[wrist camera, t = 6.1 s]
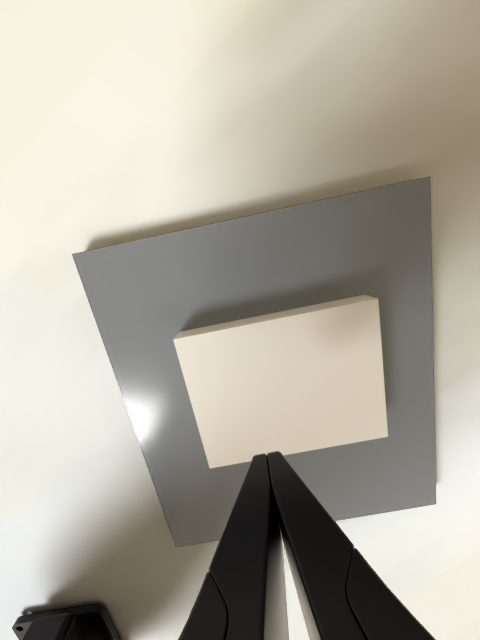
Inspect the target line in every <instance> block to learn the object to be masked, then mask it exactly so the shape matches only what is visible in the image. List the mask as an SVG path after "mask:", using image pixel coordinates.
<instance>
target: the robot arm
mask: <svg viewBox="0 0 480 640" xmlns="http://www.w3.org/2000/svg"><path fill="white" fill-rule="evenodd" d="M280 529H281V530H280ZM281 534H282V537H281ZM282 539H283V543H284V547H285V551H286V554H287V558H288V562H289V565H290V569H291V572H292V576H293V580H294V583H295V587H296V591H297V594H298V598H299V602H300V605H301V609H302V612H303V616H304V620H305V623H306V627H307V631H308V634H309V638H310V640H436V639H435V638H434V637H433V636H432V635H431V634H430V633H429V632H428V631H427V630H426V629H425V628H424V627H423V626H422V625H421V624H420V622H419V621H418V620H417V619H416V618H415V617H414V616H413V615H412V614H411V613H410V612H409V610H408V609H407V608H406V607H405V606H404V605H403V604H402V603H401V602H400V600H399V599H398V598H397V597H396V596H395V595H394V594H393V593H392V592H391V590H390V589H389V588H388V587H387V586H386V585H385V583H384V582H383V581H382V580H381V578H380V577H379V576H378V575H377V574H376V572H375V571H374V570H373V569H372V568H371V566H370V565H369V564H368V563H367V561H366V560H365V559H364V558H363V556H362V555H361V554H360V552H359V551H358V550H357V549H356V548H355V549H354V545H353V544H352V543H351V541H350V540H349V539H348V537H347V536H346V535H345V534H344V532H343V531H342V530H341V529H340V527H339V526H338V525H337V523H336V522H335V521H334V520H333V518H332V517H331V516H330V515H329V513H328V512H327V511H326V509H325V508H324V507H323V506H322V504H321V503H320V502H319V501H318V499H317V498H316V497H315V495H314V494H313V493H312V492H311V490H310V489H309V488H308V487H307V485H306V484H305V483H304V481H303V480H302V479H301V478H300V476H299V475H298V474H297V473H296V471H295V470H294V469H293V467H292V466H291V465H290V464H289V462H288V461H287V460H286V459H285V457H284V456H283V455H282V453H281V452H280V451H275V452H269V453H267V455H266V454H265V453H263V454H258V455H254V456H253V458H252V461H251V463H250V466H249V468H248V471H247V473H246V476H245V478H244V481H243V483H242V486H241V488H240V491H239V493H238V496H237V498H236V501H235V503H234V506H233V509H232V511H231V514H230V516H229V519H228V521H227V524H226V526H225V529H224V531H223V534H222V536H221V539H220V541H219V544H218V546H217V549H216V551H215V554H214V557H213V559H212V562H211V564H210V567H209V572H207V574H206V576H205V579H204V581H203V584H202V587H201V589H200V592H199V594H198V596H197V599H196V601H195V603H194V606H193V608H192V610H191V613H190V615H189V618H188V620H187V622H186V624H185V626H184V628H183V631H182V633H181V635H180V637H179V639H178V640H289V632H288V618H287V603H286V589H285V575H284V560H283V547H282ZM12 629H13V631H14V632H15V634H16V635H17V637H18V639H19V640H120V638H119V636H118V634H117V632H116V630H115V628H114V626H113V624H112V622H111V620H110V618H109V615H108V613H107V611H106V609H105V608H104V606H102V605H100V604H94V605H88V606H81V607H75V608H69V609H62V610H56V611H50V612H44V613H37V614H31V615H25V616H20V617H18V618H17V620H16V622H15V623H14V625H13V627H12Z"/></svg>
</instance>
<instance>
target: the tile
mask: <svg viewBox="0 0 480 640" xmlns="http://www.w3.org/2000/svg"><path fill="white" fill-rule="evenodd" d="M173 341H174V345H175V348H176V352H177V355H178V359H179V362H180V366H181V369H182V373H183V376H184V380H185V383H186V387H187V390H188V394H189V397H190V401H191V404H192V408H193V412H194V415H195V419H196V422H197V426H198V429H199V433H200V436H201V440H202V443H203V447H204V450H205V454H206V457H207V461H208V464H209V468H216V467H221V466H227V465H232V464H238V463H244V462H249V461H252V458H253V456H254V455H258V454H263V453H265V454H266V455H267V453H269V452H275V451H280V452H281V453H282V455H289V454H294V453H300V452H305V451H311V450H317V449H322V448H328V447H333V446H339V445H345V444H350V443H356V442H361V441H367V440H373V439H378V438H384V437H388V429H387V414H386V400H385V386H384V372H383V358H382V344H381V330H380V316H379V302H378V298H374V297H371V296H368V295H360V296H355V297H350V298H345V299H340V300H335V301H330V302H325V303H320V304H315V305H310V306H305V307H300V308H295V309H290V310H285V311H280V312H275V313H270V314H265V315H260V316H255V317H250V318H245V319H240V320H235V321H230V322H225V323H220V324H216V325H211V326H206V327H201V328H196V329H191V330H186V331H181V332H179V333H178V334H177V335H176V337H175V338H174V339H173Z"/></svg>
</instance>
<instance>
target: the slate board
mask: <svg viewBox="0 0 480 640" xmlns="http://www.w3.org/2000/svg"><path fill="white" fill-rule="evenodd" d="M72 256H73V259H74V261H75V264H76V267H77V270H78V273H79V276H80V278H81V281H82V284H83V287H84V290H85V292H86V295H87V298H88V301H89V304H90V306H91V309H92V312H93V315H94V318H95V320H96V323H97V326H98V329H99V332H100V335H101V337H102V340H103V343H104V346H105V349H106V351H107V354H108V357H109V360H110V363H111V365H112V368H113V371H114V374H115V377H116V380H117V382H118V385H119V388H120V391H121V394H122V396H123V399H124V402H125V405H126V408H127V410H128V413H129V416H130V419H131V422H132V425H133V427H134V430H135V433H136V436H137V439H138V441H139V444H140V447H141V450H142V453H143V455H144V458H145V461H146V464H147V467H148V470H149V472H150V475H151V478H152V481H153V484H154V486H155V489H156V492H157V495H158V498H159V500H160V503H161V506H162V509H163V512H164V514H165V517H166V520H167V523H168V526H169V529H170V531H171V534H172V537H173V540H174V543H175V545H176V547H181V546H187V545H193V544H199V543H205V542H211V541H217V540H220V539H221V536H222V534H223V531H224V529H225V526H226V524H227V521H228V519H229V516H230V514H231V511H232V509H233V506H234V503H235V501H236V498H237V496H238V493H239V491H240V488H241V486H242V483H243V481H244V478H245V476H246V473H247V471H248V468H249V466H250V463H251V461H249V462H244V463H238V464H232V465H227V466H221V467H216V468H209V464H208V461H207V457H206V454H205V450H204V447H203V443H202V440H201V436H200V433H199V429H198V426H197V422H196V419H195V415H194V412H193V408H192V404H191V401H190V397H189V394H188V390H187V387H186V383H185V380H184V376H183V373H182V369H181V366H180V362H179V359H178V355H177V352H176V348H175V345H174V341H173V339H174V338H175V337H176V335H177V334H178V333H179V332H181V331H186V330H191V329H196V328H201V327H206V326H211V325H216V324H220V323H225V322H230V321H235V320H240V319H245V318H250V317H255V316H260V315H265V314H270V313H275V312H280V311H285V310H290V309H295V308H300V307H305V306H310V305H315V304H320V303H325V302H330V301H335V300H340V299H345V298H350V297H355V296H360V295H368V296H371V297H374V298H378V302H379V316H380V330H381V344H382V358H383V372H384V386H385V400H386V414H387V429H388V437H384V438H378V439H373V440H367V441H361V442H356V443H350V444H345V445H339V446H333V447H328V448H322V449H317V450H311V451H305V452H300V453H294V454H289V455H283V456H284V457H285V459H286V460H287V461H288V462H289V464H290V465H291V466H292V467H293V469H294V470H295V471H296V473H297V474H298V475H299V476H300V478H301V479H302V480H303V481H304V483H305V484H306V485H307V487H308V488H309V489H310V490H311V492H312V493H313V494H314V495H315V497H316V498H317V499H318V501H319V502H320V503H321V504H322V506H323V507H324V508H325V509H326V511H327V512H328V513H329V515H330V516H331V517H332V518H333V520H334V521H337V520H343V519H349V518H355V517H361V516H367V515H373V514H379V513H385V512H391V511H397V510H403V509H409V508H415V507H421V506H427V505H433V504H436V469H435V415H434V360H433V305H432V250H431V195H430V176H429V177H425V178H420V179H416V180H411V181H406V182H402V183H397V184H393V185H388V186H383V187H379V188H374V189H370V190H365V191H360V192H356V193H351V194H347V195H342V196H337V197H333V198H328V199H324V200H319V201H314V202H310V203H305V204H301V205H296V206H291V207H287V208H282V209H278V210H273V211H268V212H264V213H259V214H255V215H250V216H245V217H241V218H236V219H231V220H227V221H222V222H218V223H213V224H208V225H204V226H199V227H195V228H190V229H185V230H181V231H176V232H172V233H167V234H162V235H158V236H153V237H149V238H144V239H139V240H135V241H130V242H126V243H121V244H116V245H112V246H107V247H103V248H98V249H93V250H89V251H84V252H80V253H75V254H72ZM280 530H281V529H280Z"/></svg>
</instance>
